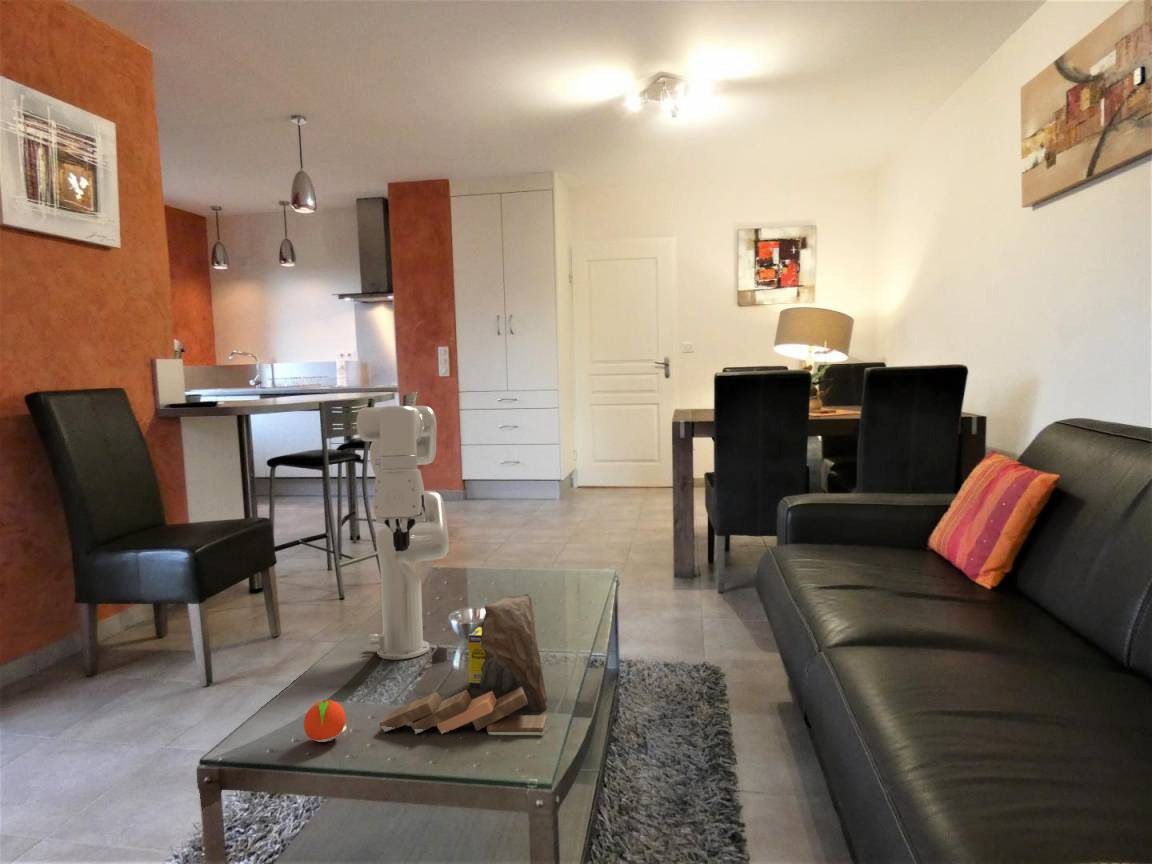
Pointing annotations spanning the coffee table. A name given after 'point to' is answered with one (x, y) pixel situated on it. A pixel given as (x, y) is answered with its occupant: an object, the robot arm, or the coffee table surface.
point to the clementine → (324, 720)
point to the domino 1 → (412, 711)
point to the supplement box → (475, 657)
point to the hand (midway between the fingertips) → (401, 550)
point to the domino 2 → (444, 711)
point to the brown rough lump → (512, 651)
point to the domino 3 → (470, 712)
